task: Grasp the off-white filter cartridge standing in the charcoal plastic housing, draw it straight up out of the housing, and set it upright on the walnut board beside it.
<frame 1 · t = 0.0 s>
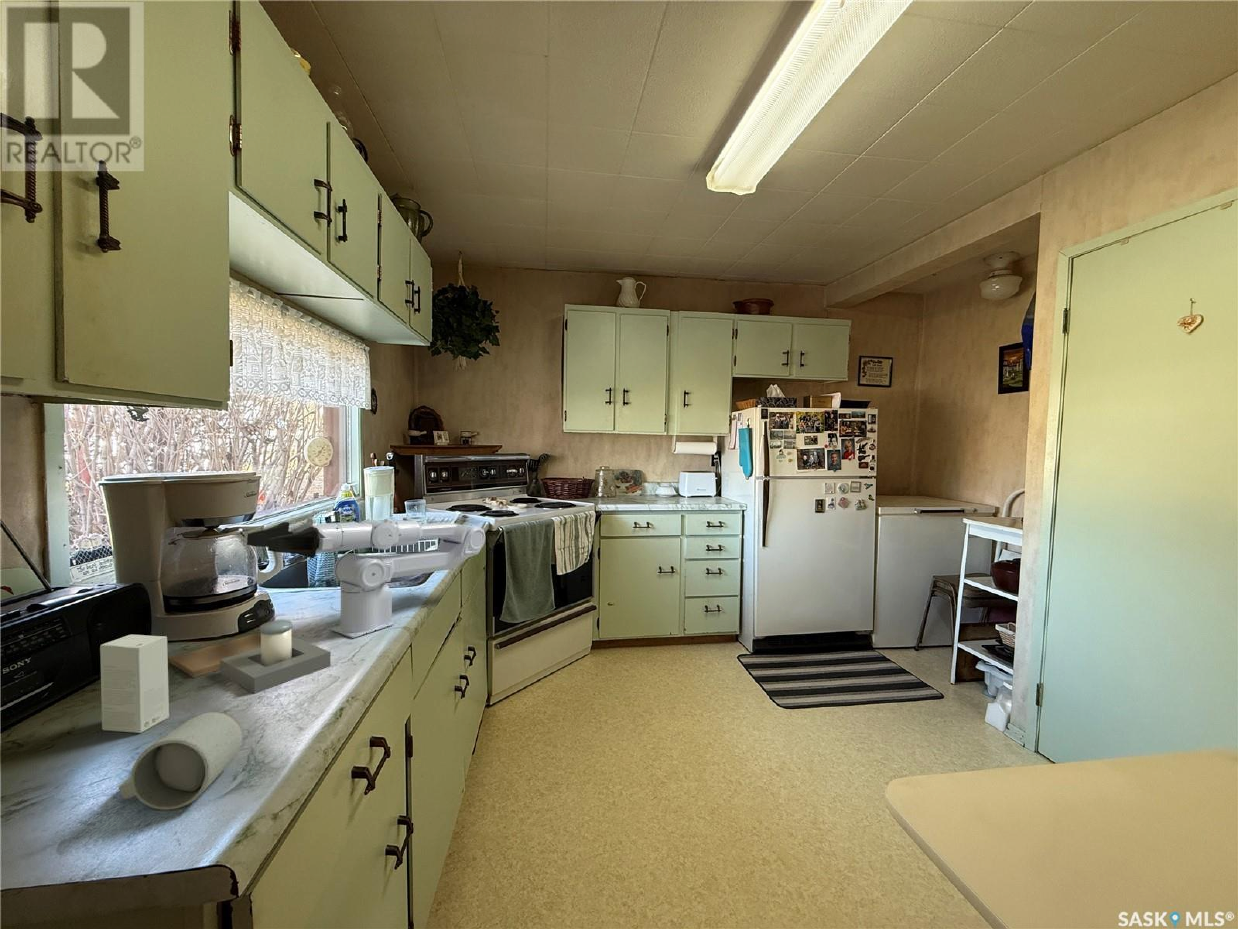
hand: (258, 542, 91), 22 cm above the counter, tool horizontal, fingers open, 7 cm apart
cartridge: (276, 647, 88), in the housing
skincare box: (136, 725, 71), on the counter
housing: (276, 669, 89), on the counter
board: (228, 655, 94), on the counter
ceramic mug: (179, 790, 59), on the counter
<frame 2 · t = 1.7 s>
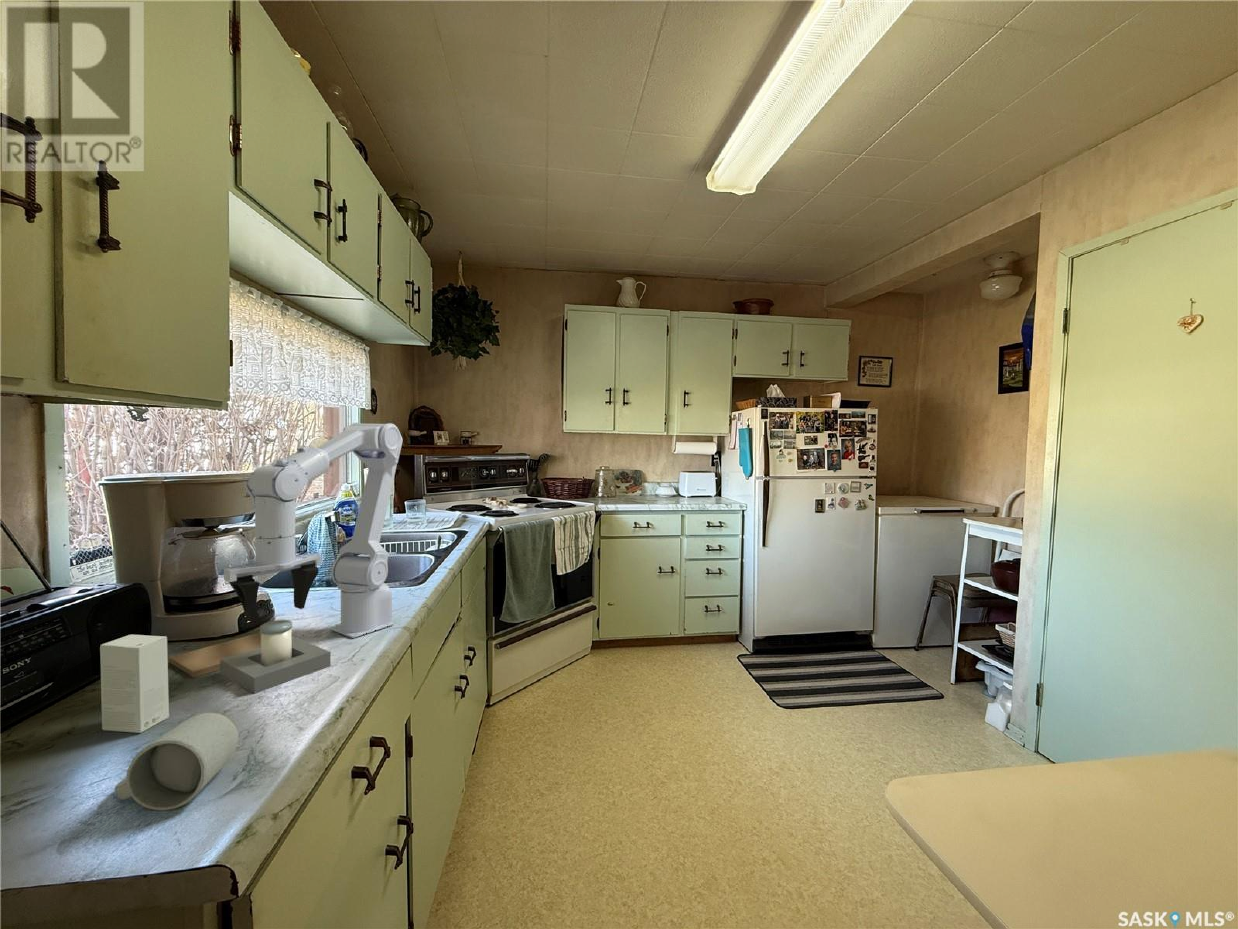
hand: (276, 613, 88), 10 cm above the counter, tool pointing down, fingers open, 7 cm apart
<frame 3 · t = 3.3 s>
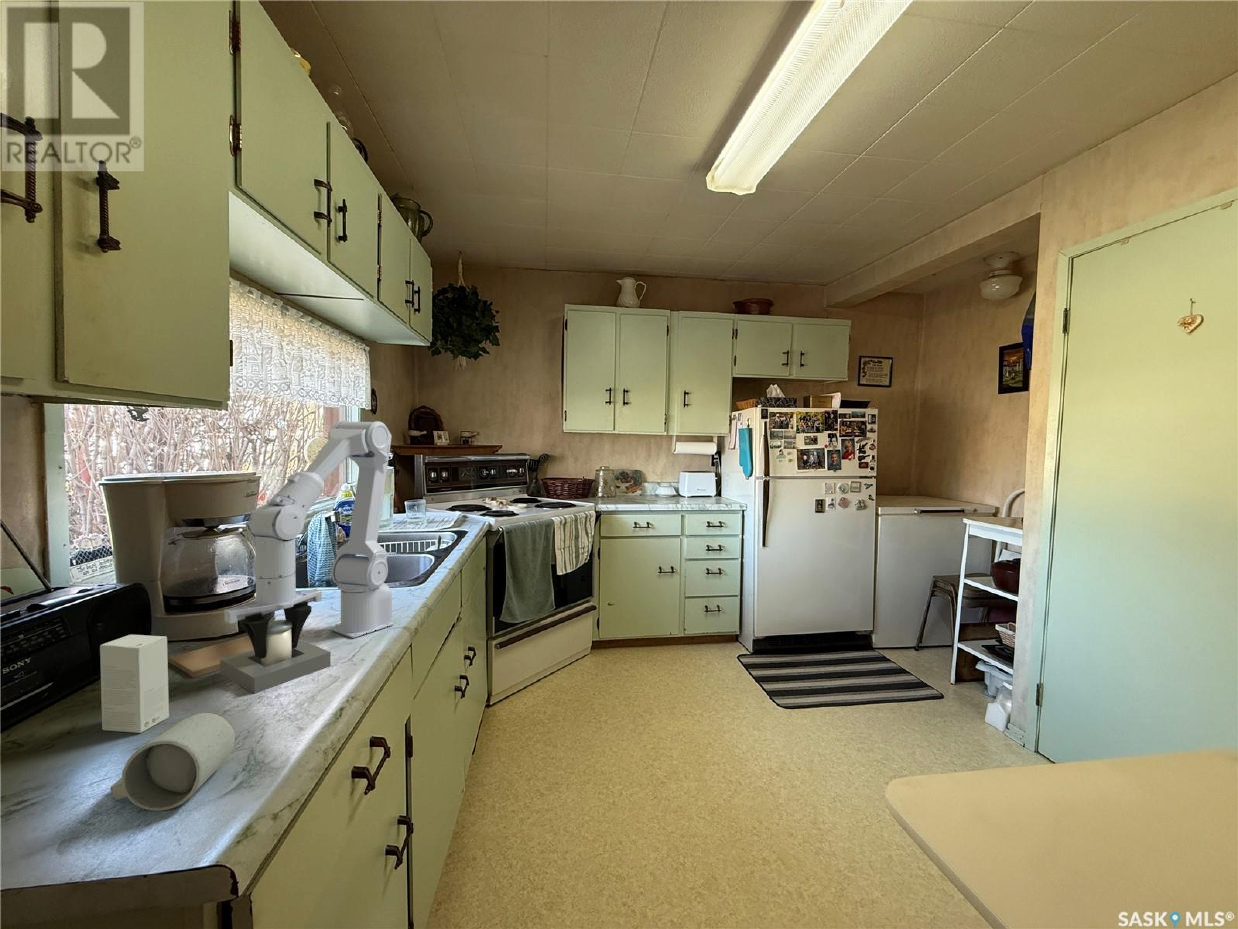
hand: (276, 651, 88), 3 cm above the counter, tool pointing down, fingers closed on cartridge, 4 cm apart
cartridge: (276, 647, 88), in the housing, touching gripper
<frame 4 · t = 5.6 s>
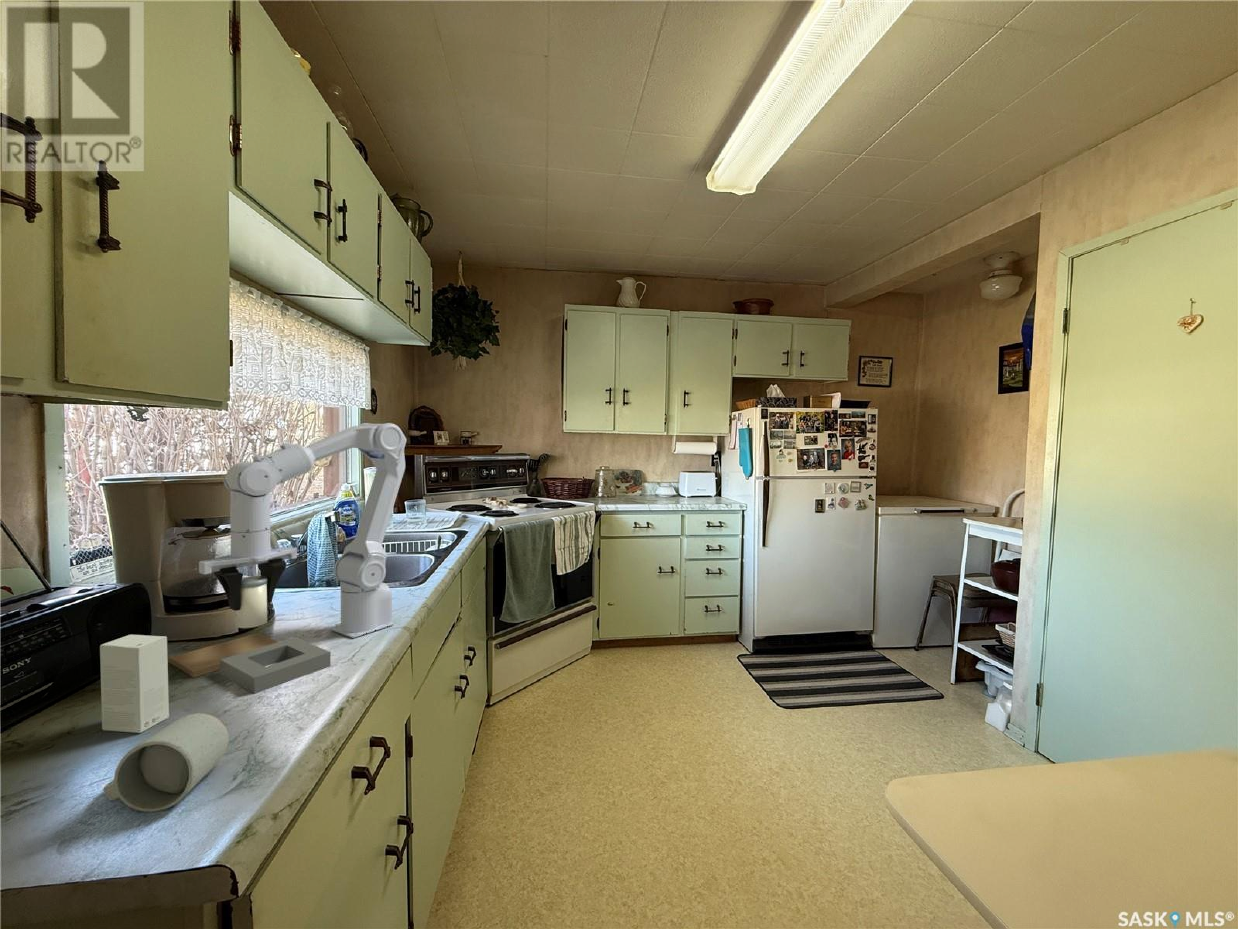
hand: (251, 605, 91), 10 cm above the counter, tool pointing down, fingers closed on cartridge, 4 cm apart
cartridge: (251, 601, 90), point 11 cm above the counter, touching gripper
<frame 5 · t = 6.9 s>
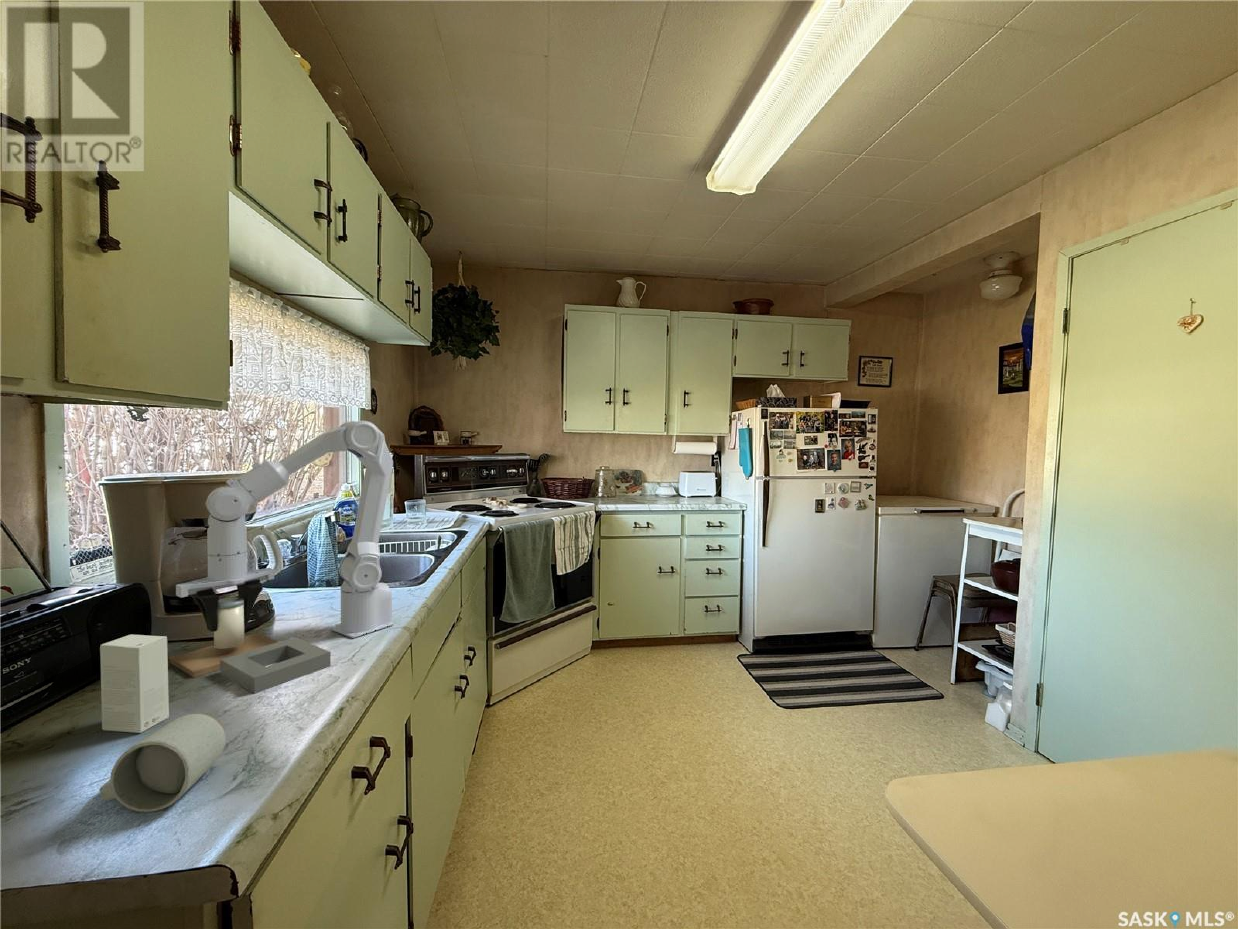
hand: (228, 626, 93), 6 cm above the counter, tool pointing down, fingers closed on cartridge, 4 cm apart
cartridge: (229, 622, 93), point 6 cm above the counter, touching gripper
when the fingers open (5 cm above the counter, at t = 7.8 s): cartridge stays where it is, resting on board.
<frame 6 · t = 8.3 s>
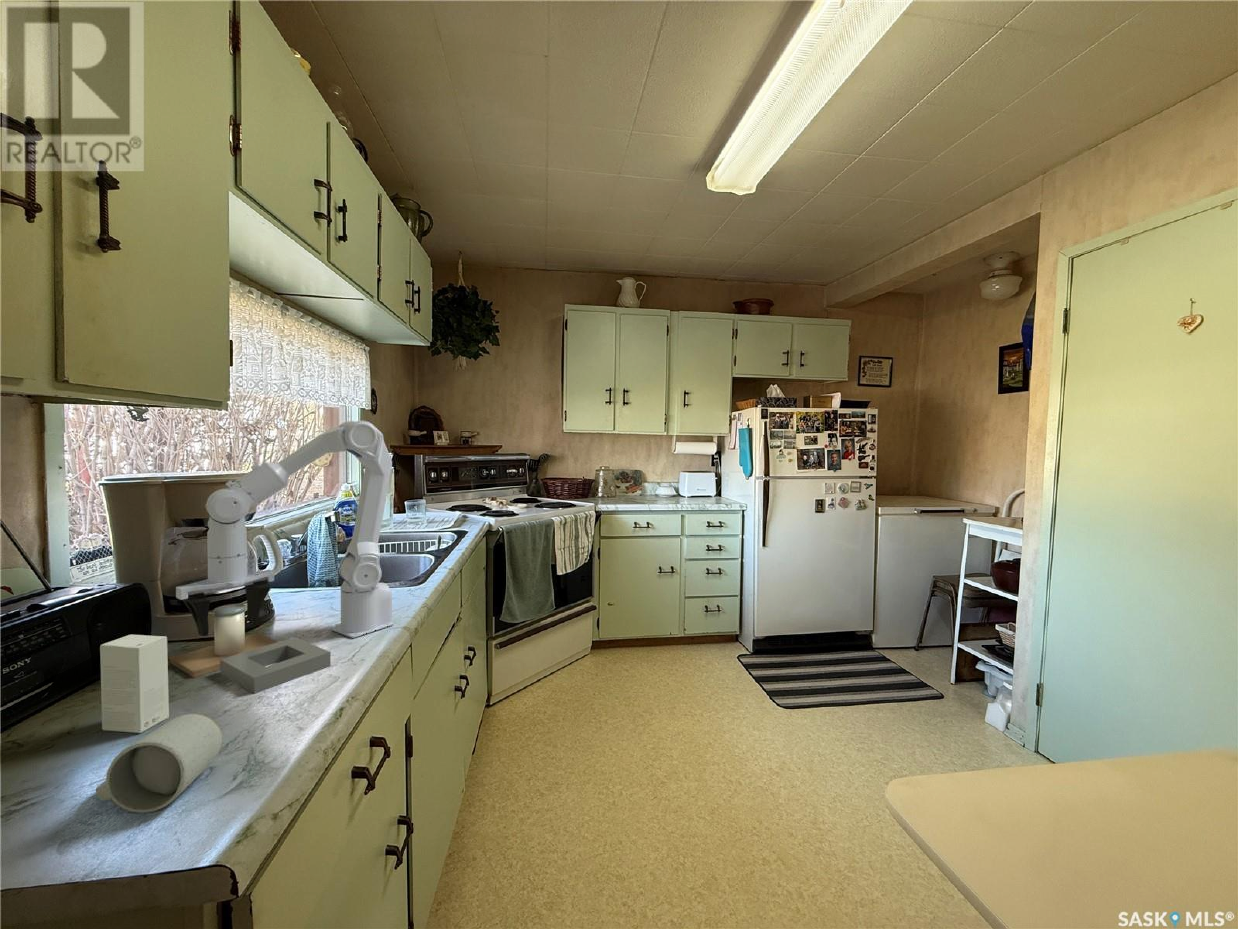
hand: (228, 628, 93), 5 cm above the counter, tool pointing down, fingers open, 7 cm apart
cartridge: (229, 629, 93), on the board, point 5 cm above the counter
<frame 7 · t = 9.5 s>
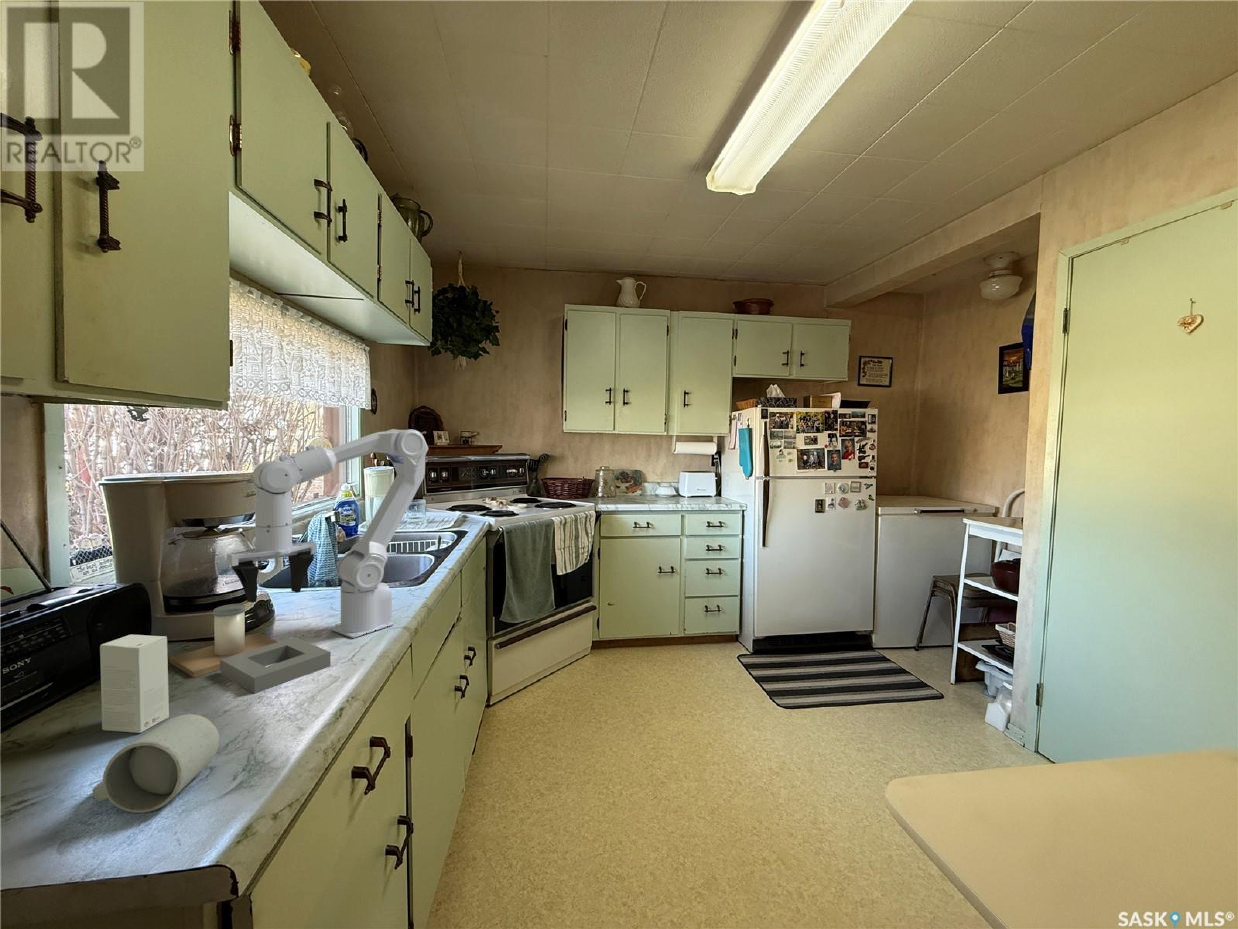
hand: (274, 596, 96), 10 cm above the counter, tool pointing down, fingers open, 7 cm apart
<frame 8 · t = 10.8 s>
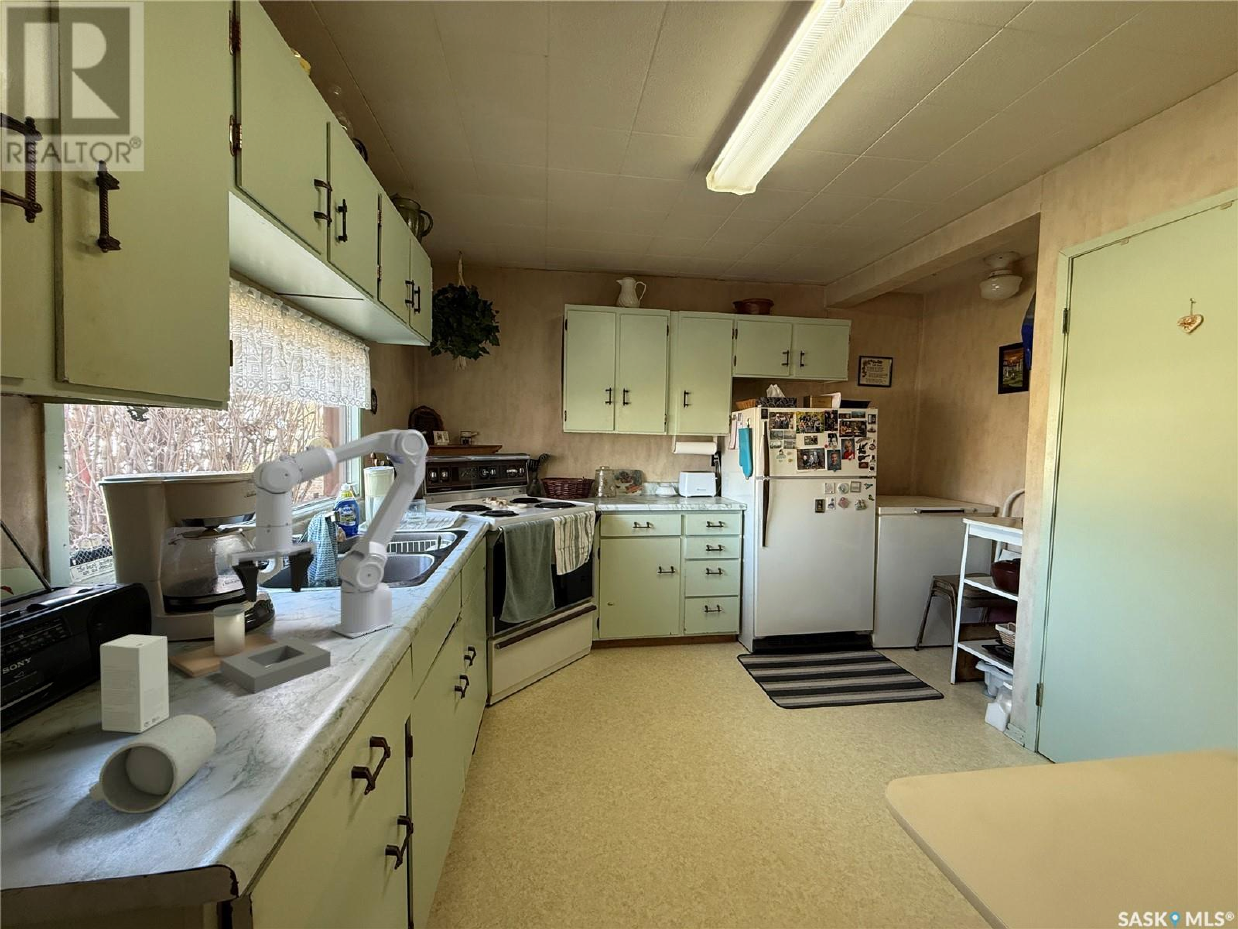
hand: (274, 596, 96), 10 cm above the counter, tool pointing down, fingers open, 7 cm apart
at the end: cartridge inside the target area on the board (0.3 cm from its centre), point 5.0 cm above the board's base; cartridge tilted 1°; the gripper is holding nothing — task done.
